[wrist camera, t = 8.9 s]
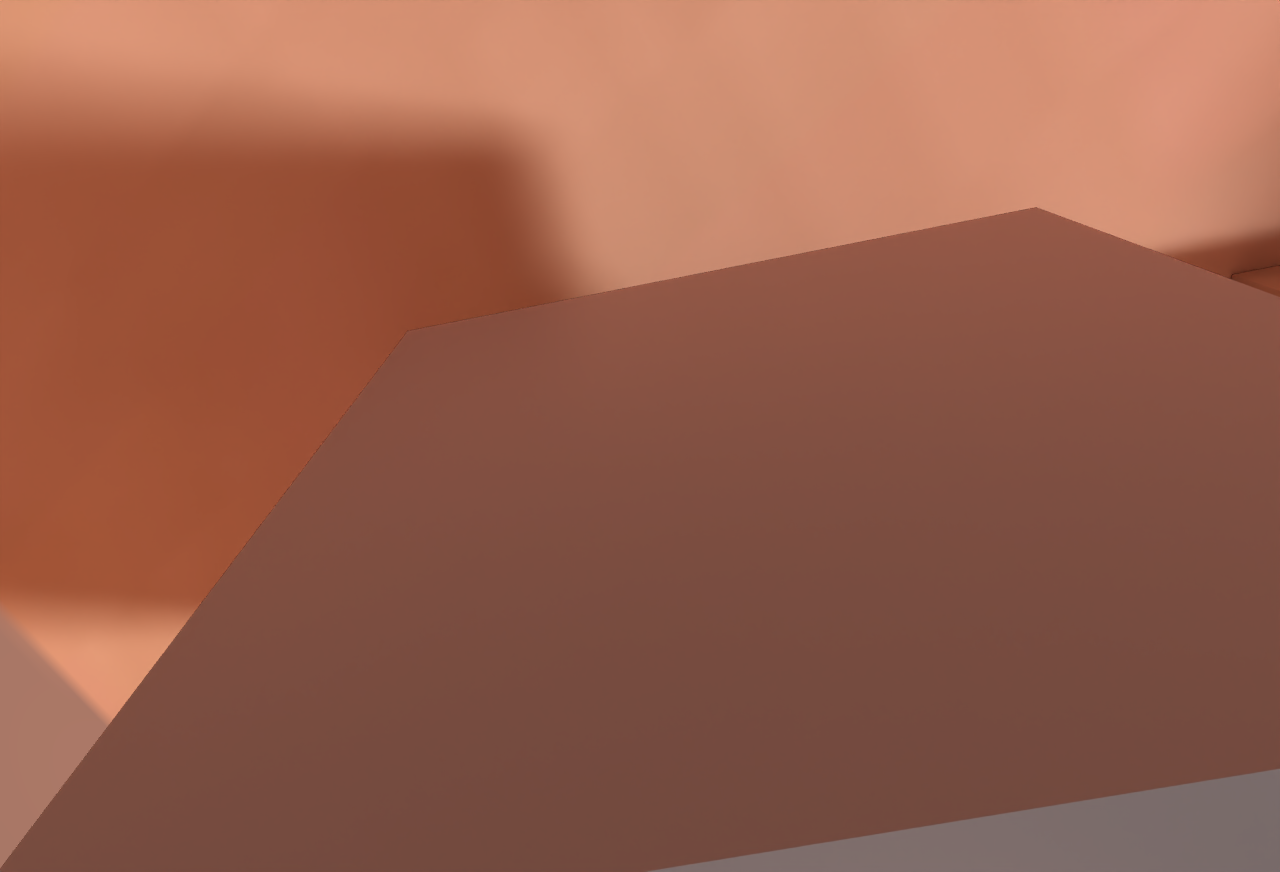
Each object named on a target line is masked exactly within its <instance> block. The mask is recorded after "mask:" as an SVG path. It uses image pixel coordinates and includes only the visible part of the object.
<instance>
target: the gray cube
mask: <svg viewBox="0 0 1280 872" xmlns="http://www.w3.org/2000/svg"><path fill="white" fill-rule="evenodd" d="M0 872H1280V297H1278V296H1275V295H1273V294H1270V293H1267V292H1264V291H1262V290H1259V289H1256V288H1254V287H1251V286H1248V285H1245V284H1243V283H1240V282H1237V281H1235V280H1232V279H1229V278H1226V277H1224V276H1221V275H1218V274H1216V273H1213V272H1210V271H1207V270H1205V269H1202V268H1199V267H1197V266H1194V265H1191V264H1188V263H1186V262H1183V261H1180V260H1178V259H1175V258H1172V257H1170V256H1167V255H1164V254H1161V253H1159V252H1156V251H1153V250H1151V249H1148V248H1145V247H1142V246H1140V245H1137V244H1134V243H1132V242H1129V241H1126V240H1123V239H1121V238H1118V237H1115V236H1113V235H1110V234H1107V233H1104V232H1102V231H1099V230H1096V229H1094V228H1091V227H1088V226H1085V225H1083V224H1080V223H1077V222H1075V221H1072V220H1069V219H1066V218H1064V217H1061V216H1058V215H1056V214H1053V213H1050V212H1047V211H1045V210H1042V209H1039V208H1037V207H1035V208H1030V209H1025V210H1020V211H1014V212H1009V213H1004V214H999V215H994V216H989V217H984V218H979V219H974V220H969V221H964V222H959V223H953V224H948V225H943V226H938V227H933V228H928V229H923V230H918V231H913V232H908V233H903V234H898V235H893V236H887V237H882V238H877V239H872V240H867V241H862V242H857V243H852V244H847V245H842V246H837V247H832V248H826V249H821V250H816V251H811V252H806V253H801V254H796V255H791V256H786V257H781V258H776V259H771V260H765V261H760V262H755V263H750V264H745V265H740V266H735V267H730V268H725V269H720V270H715V271H710V272H705V273H699V274H694V275H689V276H684V277H679V278H674V279H669V280H664V281H659V282H654V283H649V284H644V285H638V286H633V287H628V288H623V289H618V290H613V291H608V292H603V293H598V294H593V295H588V296H583V297H577V298H572V299H567V300H562V301H557V302H552V303H547V304H542V305H537V306H532V307H527V308H522V309H517V310H511V311H506V312H501V313H496V314H491V315H486V316H481V317H476V318H471V319H466V320H461V321H456V322H450V323H445V324H440V325H435V326H430V327H425V328H420V329H415V330H410V331H407V333H406V334H405V335H404V336H403V338H402V339H401V340H400V342H399V343H398V344H397V346H396V347H395V348H394V350H393V351H392V352H391V354H390V355H389V356H388V358H387V359H386V360H385V362H384V363H383V364H382V365H381V367H380V368H379V369H378V371H377V372H376V373H375V375H374V376H373V377H372V379H371V380H370V381H369V383H368V384H367V385H366V387H365V388H364V389H363V391H362V392H361V393H360V395H359V396H358V397H357V398H356V400H355V401H354V402H353V404H352V405H351V406H350V408H349V409H348V410H347V412H346V413H345V414H344V416H343V417H342V418H341V420H340V421H339V422H338V424H337V425H336V426H335V427H334V429H333V430H332V431H331V433H330V434H329V435H328V437H327V438H326V439H325V441H324V442H323V443H322V445H321V446H320V447H319V449H318V450H317V451H316V453H315V454H314V455H313V457H312V458H311V459H310V460H309V462H308V463H307V464H306V466H305V467H304V468H303V470H302V471H301V472H300V474H299V475H298V476H297V478H296V479H295V480H294V482H293V483H292V484H291V486H290V487H289V488H288V489H287V491H286V492H285V493H284V495H283V496H282V497H281V499H280V500H279V501H278V503H277V504H276V505H275V507H274V508H273V509H272V511H271V512H270V513H269V515H268V516H267V517H266V519H265V520H264V521H263V522H262V524H261V525H260V526H259V528H258V529H257V530H256V532H255V533H254V534H253V536H252V537H251V538H250V540H249V541H248V542H247V544H246V545H245V546H244V548H243V549H242V550H241V551H240V553H239V554H238V555H237V557H236V558H235V559H234V561H233V562H232V563H231V565H230V566H229V567H228V569H227V570H226V571H225V573H224V574H223V575H222V577H221V578H220V579H219V581H218V582H217V583H216V584H215V586H214V587H213V588H212V590H211V591H210V592H209V594H208V595H207V596H206V598H205V599H204V600H203V602H202V603H201V604H200V606H199V607H198V608H197V610H196V611H195V612H194V613H193V615H192V616H191V617H190V619H189V620H188V621H187V623H186V624H185V625H184V627H183V628H182V629H181V631H180V632H179V633H178V635H177V636H176V637H175V639H174V640H173V641H172V642H171V644H170V645H169V646H168V648H167V649H166V650H165V652H164V653H163V654H162V656H161V657H160V658H159V660H158V661H157V662H156V664H155V665H154V666H153V668H152V669H151V670H150V672H149V673H148V674H147V675H146V677H145V678H144V679H143V681H142V682H141V683H140V685H139V686H138V687H137V689H136V690H135V691H134V693H133V694H132V695H131V697H130V698H129V699H128V701H127V702H126V703H125V704H124V706H123V707H122V708H121V710H120V711H119V712H118V714H117V715H116V716H115V718H114V719H113V720H112V722H111V723H110V724H109V726H108V727H107V728H106V730H105V731H104V732H103V734H102V735H101V736H100V737H99V739H98V740H97V741H96V743H95V744H94V746H93V747H92V748H91V749H90V751H89V752H88V753H87V755H86V756H85V757H84V759H83V760H82V761H81V763H80V764H79V765H78V766H77V768H76V769H75V771H74V772H73V773H72V774H71V776H70V777H69V778H68V780H67V781H66V782H65V784H64V785H63V786H62V788H61V789H60V790H59V792H58V793H57V794H56V796H55V797H54V798H53V800H52V801H51V802H50V803H49V805H48V806H47V807H46V809H45V810H44V812H43V813H42V814H41V815H40V817H39V818H38V819H37V821H36V822H35V823H34V825H33V826H32V827H31V828H30V830H29V831H28V832H27V834H26V835H25V836H24V838H23V839H22V840H21V842H20V843H19V844H18V846H17V847H16V849H15V850H14V851H13V852H12V854H11V855H10V856H9V858H8V859H7V860H6V862H5V863H4V864H3V866H2V867H1V868H0Z"/></svg>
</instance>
